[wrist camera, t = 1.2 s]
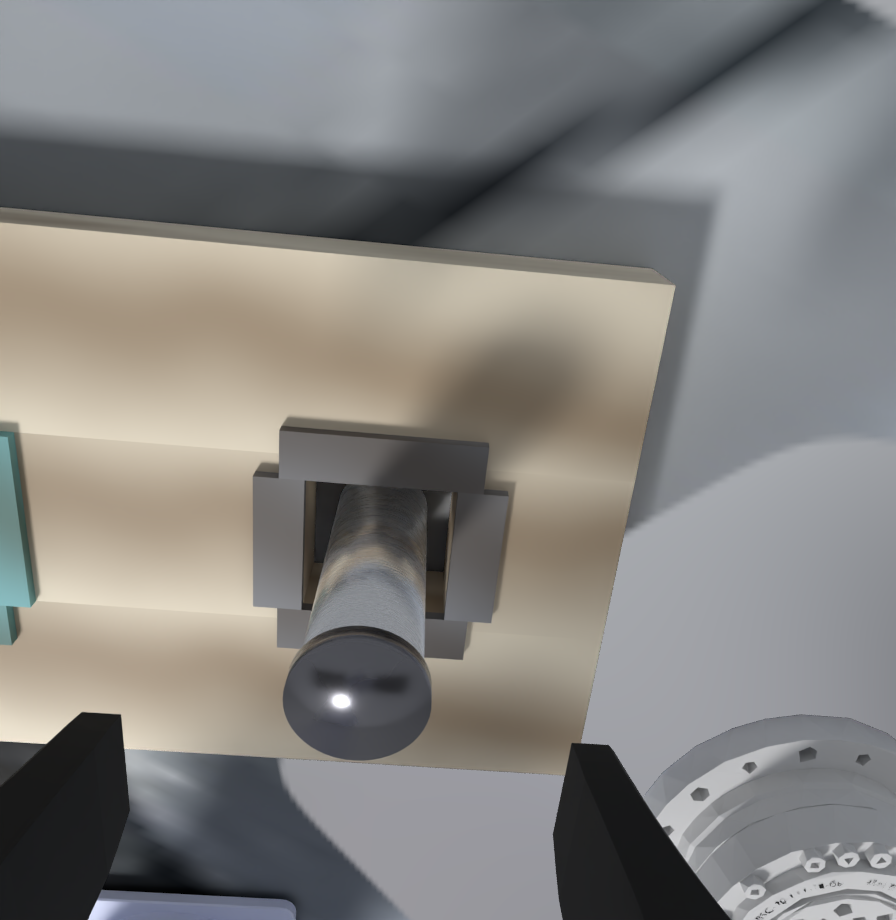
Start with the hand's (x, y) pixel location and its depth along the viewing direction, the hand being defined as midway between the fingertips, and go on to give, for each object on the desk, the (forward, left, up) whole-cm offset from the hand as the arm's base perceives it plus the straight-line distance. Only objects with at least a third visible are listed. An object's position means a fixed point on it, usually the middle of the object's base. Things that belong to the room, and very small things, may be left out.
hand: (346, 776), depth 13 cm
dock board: (0, +6, -10) cm, 11 cm away
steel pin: (0, 0, -10) cm, 10 cm away
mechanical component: (-11, -14, -10) cm, 20 cm away
